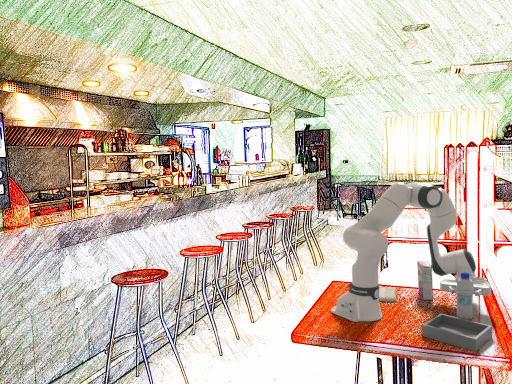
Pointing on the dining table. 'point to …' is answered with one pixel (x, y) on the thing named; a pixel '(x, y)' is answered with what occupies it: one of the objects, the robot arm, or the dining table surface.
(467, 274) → the bottle
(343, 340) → the dining table surface
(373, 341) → the dining table surface
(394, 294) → the washcloth
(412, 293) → the dining table surface
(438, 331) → the serving tray
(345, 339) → the dining table surface
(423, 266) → the candy bar box
